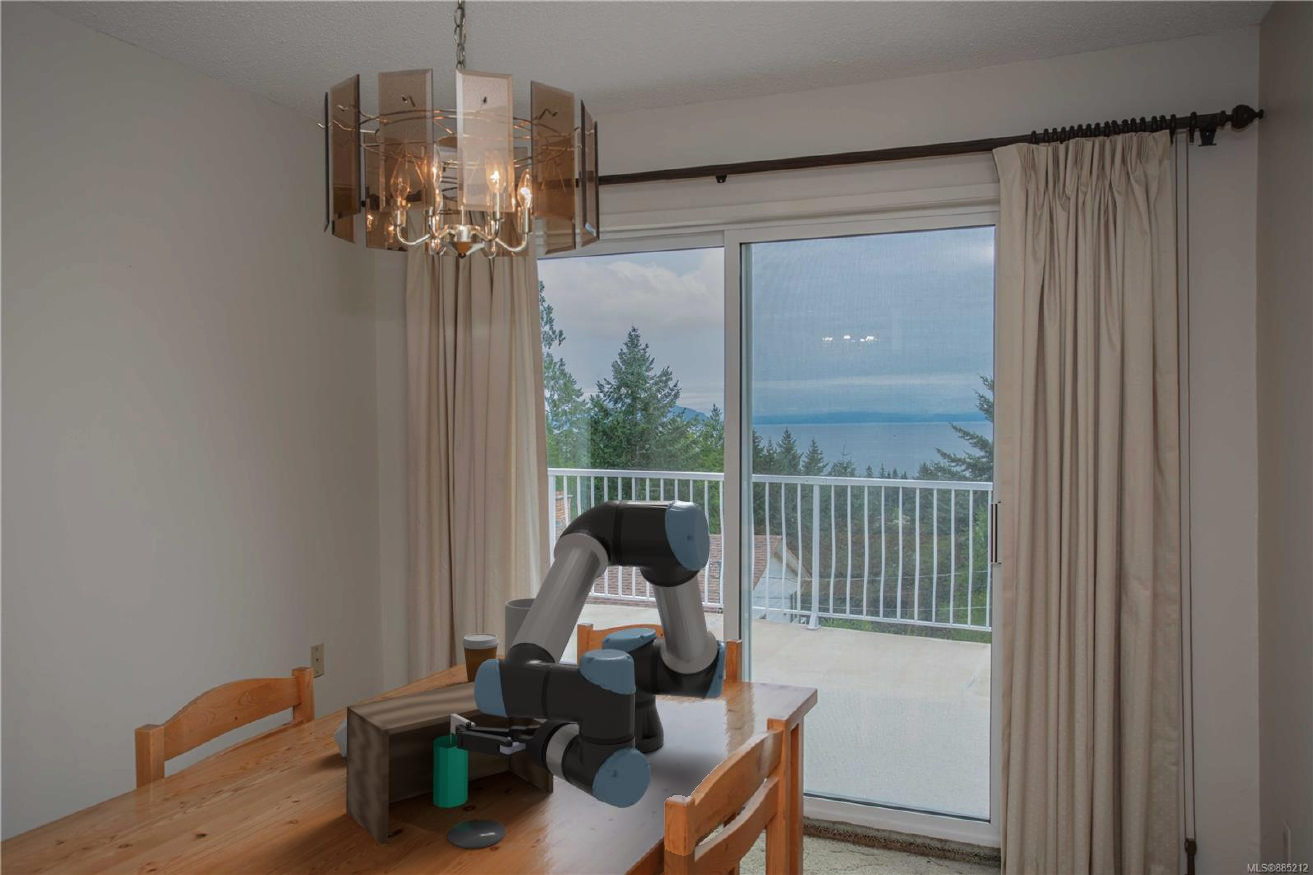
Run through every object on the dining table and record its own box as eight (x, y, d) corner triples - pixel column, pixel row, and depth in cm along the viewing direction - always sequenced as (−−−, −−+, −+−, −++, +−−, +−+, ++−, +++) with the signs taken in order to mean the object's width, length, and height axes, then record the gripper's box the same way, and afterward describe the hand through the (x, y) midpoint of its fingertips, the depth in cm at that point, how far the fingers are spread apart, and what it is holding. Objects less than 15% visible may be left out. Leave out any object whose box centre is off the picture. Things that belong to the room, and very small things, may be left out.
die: (353, 769, 168) (384, 725, 171) (318, 744, 170) (349, 701, 173) (365, 769, 176) (395, 727, 179) (332, 745, 178) (362, 704, 181)
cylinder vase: (568, 707, 206) (569, 601, 206) (534, 721, 196) (535, 610, 195) (528, 698, 213) (529, 596, 213) (493, 712, 202) (493, 604, 202)
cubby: (346, 812, 148) (346, 706, 148) (510, 767, 169) (511, 674, 169) (381, 844, 136) (382, 729, 136) (553, 792, 157) (554, 692, 157)
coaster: (511, 824, 144) (511, 820, 144) (496, 849, 135) (496, 846, 135) (458, 821, 145) (458, 818, 145) (440, 847, 136) (440, 843, 136)
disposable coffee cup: (455, 687, 222) (456, 640, 222) (469, 677, 231) (470, 632, 231) (491, 689, 220) (491, 642, 220) (504, 679, 229) (504, 633, 229)
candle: (435, 793, 156) (436, 726, 156) (469, 792, 156) (470, 726, 156) (429, 808, 150) (430, 738, 150) (465, 807, 150) (465, 737, 150)
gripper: (488, 798, 117) (418, 754, 133) (633, 757, 133) (555, 722, 149) (489, 742, 117) (419, 705, 133) (633, 707, 133) (555, 678, 149)
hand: (491, 714), depth 141 cm, fingers open, 13 cm apart
